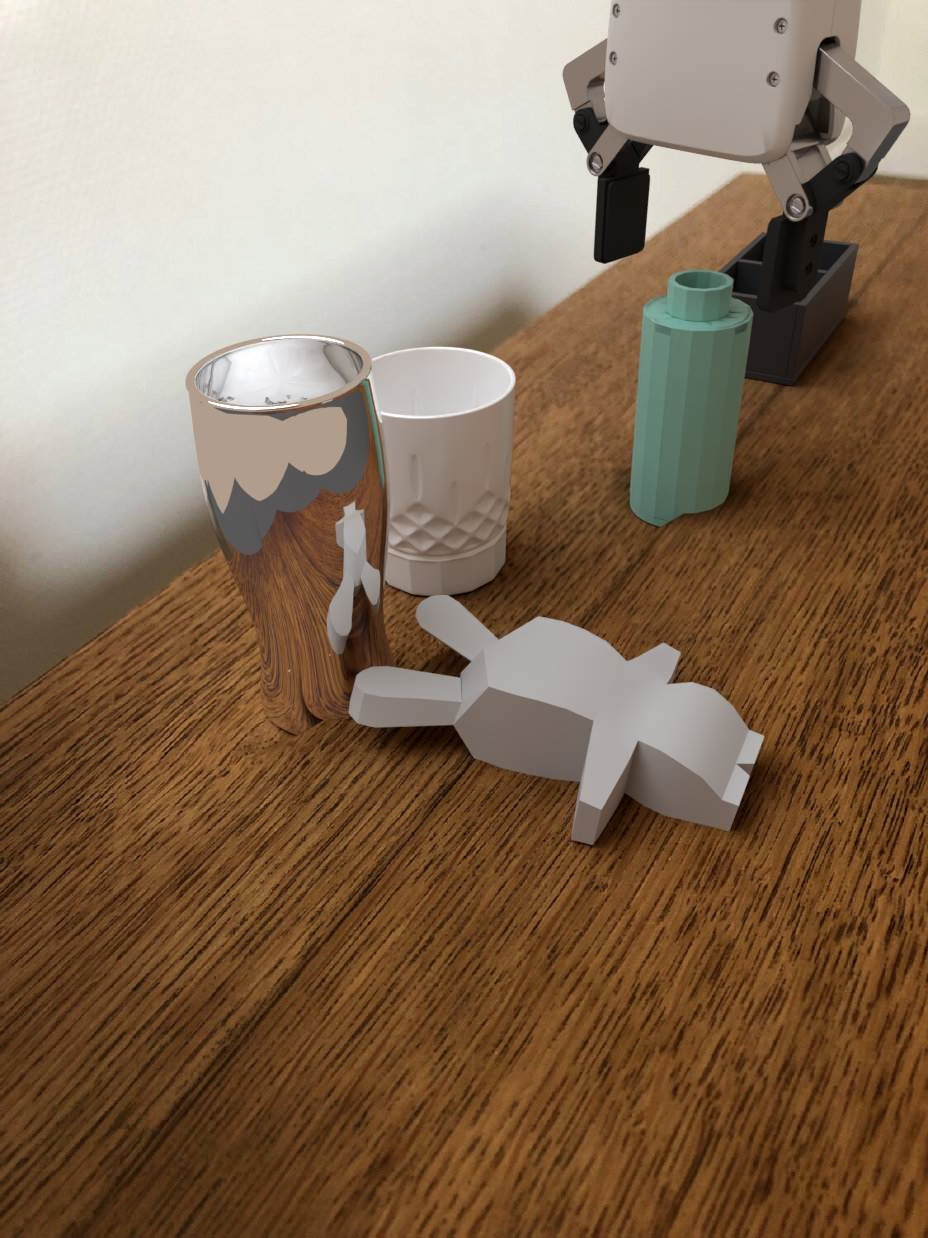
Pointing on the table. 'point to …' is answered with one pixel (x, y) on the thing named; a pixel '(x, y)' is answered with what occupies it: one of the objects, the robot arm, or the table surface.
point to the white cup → (446, 466)
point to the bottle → (688, 396)
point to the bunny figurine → (574, 717)
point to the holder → (792, 311)
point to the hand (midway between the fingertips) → (695, 279)
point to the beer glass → (299, 510)
